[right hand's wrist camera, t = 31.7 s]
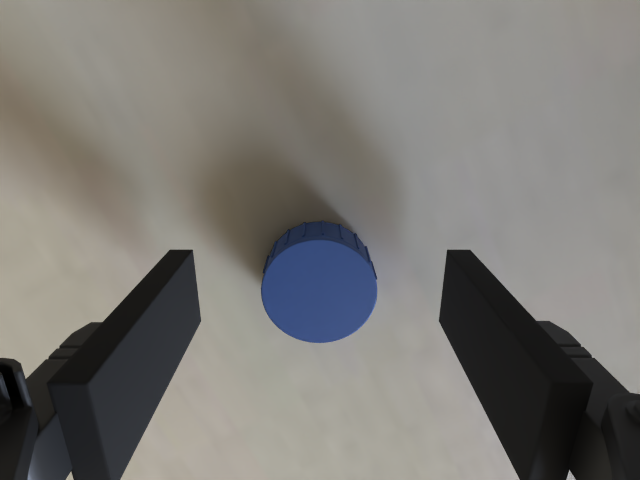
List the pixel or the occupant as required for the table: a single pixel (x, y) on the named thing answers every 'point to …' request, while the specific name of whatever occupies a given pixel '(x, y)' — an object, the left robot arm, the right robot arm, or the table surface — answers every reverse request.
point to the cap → (319, 283)
